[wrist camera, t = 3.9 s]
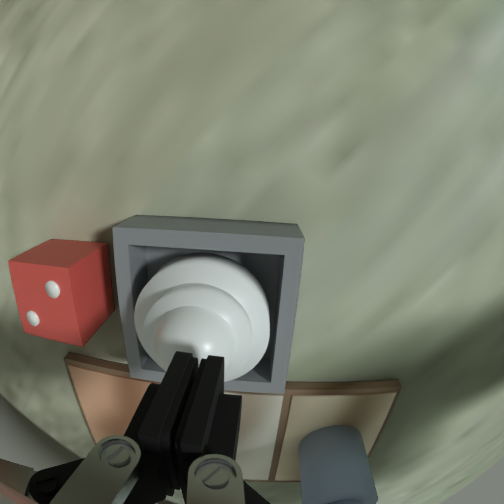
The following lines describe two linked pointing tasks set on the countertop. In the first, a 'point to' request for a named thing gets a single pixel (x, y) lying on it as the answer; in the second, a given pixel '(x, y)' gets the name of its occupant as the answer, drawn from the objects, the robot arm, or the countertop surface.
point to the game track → (244, 413)
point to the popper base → (222, 243)
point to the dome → (204, 313)
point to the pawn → (335, 467)
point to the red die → (63, 289)
